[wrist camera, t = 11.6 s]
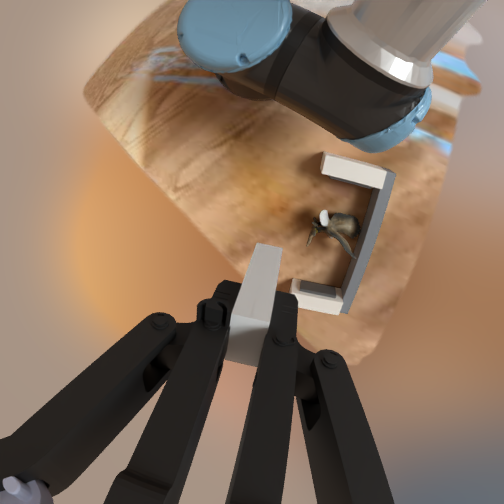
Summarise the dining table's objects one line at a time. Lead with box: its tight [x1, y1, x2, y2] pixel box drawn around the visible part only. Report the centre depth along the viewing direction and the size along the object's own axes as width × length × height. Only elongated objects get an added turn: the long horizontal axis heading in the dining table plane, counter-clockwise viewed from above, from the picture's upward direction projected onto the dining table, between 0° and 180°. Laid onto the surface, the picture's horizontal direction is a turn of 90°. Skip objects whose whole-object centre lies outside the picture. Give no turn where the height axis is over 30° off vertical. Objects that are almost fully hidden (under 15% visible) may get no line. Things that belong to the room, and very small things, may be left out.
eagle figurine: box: [306, 210, 361, 259], centre depth 48 cm, size 8×7×9 cm
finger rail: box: [289, 151, 396, 315], centre depth 49 cm, size 28×12×5 cm, turn 171°
